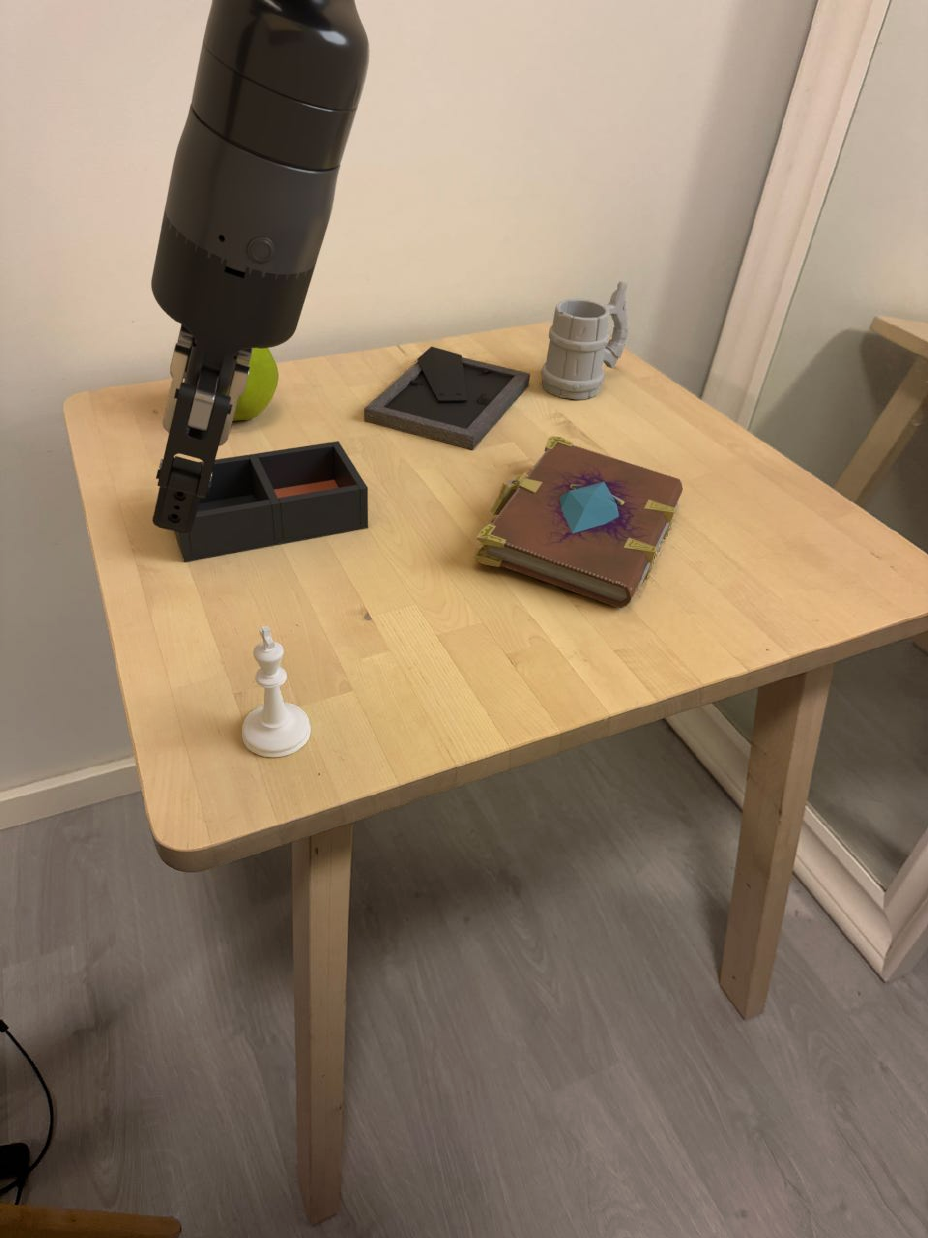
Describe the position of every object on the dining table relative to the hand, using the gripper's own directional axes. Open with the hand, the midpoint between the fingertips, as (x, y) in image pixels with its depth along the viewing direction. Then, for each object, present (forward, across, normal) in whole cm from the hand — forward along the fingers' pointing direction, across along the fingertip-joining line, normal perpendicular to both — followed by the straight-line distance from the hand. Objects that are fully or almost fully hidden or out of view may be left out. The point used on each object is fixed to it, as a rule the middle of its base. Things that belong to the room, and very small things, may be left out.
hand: (181, 482), depth 55 cm
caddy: (+19, -24, +9) cm, 32 cm away
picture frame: (+14, -48, +28) cm, 57 cm away
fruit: (+22, -44, +5) cm, 50 cm away
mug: (+9, -53, +44) cm, 70 cm away
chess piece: (+17, +4, +10) cm, 20 cm away
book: (+10, -23, +38) cm, 45 cm away
